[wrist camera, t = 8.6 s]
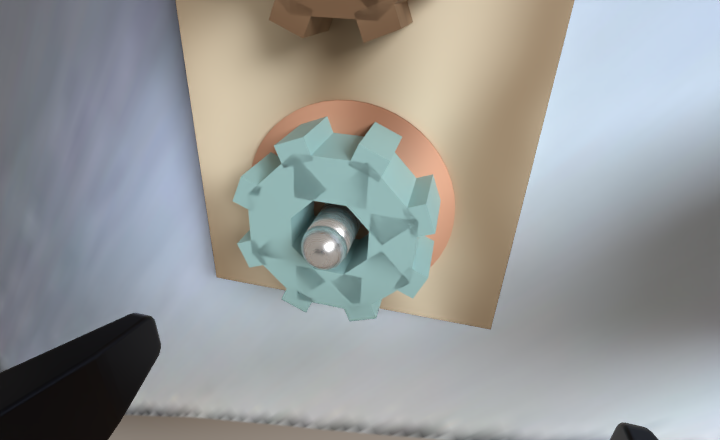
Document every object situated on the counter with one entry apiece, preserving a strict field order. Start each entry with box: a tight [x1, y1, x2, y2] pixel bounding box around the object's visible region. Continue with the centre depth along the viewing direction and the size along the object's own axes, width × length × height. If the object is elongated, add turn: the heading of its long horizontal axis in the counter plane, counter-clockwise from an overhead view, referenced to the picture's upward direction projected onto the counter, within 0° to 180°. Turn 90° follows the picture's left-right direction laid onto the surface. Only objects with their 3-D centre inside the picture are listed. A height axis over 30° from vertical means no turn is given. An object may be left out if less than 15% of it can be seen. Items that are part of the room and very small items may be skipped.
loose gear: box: [233, 116, 441, 321], centre depth 16 cm, size 7×7×2 cm
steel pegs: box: [301, 203, 362, 270], centre depth 13 cm, size 2×12×4 cm, turn 177°
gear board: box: [176, 0, 574, 329], centre depth 15 cm, size 13×20×2 cm, turn 177°
